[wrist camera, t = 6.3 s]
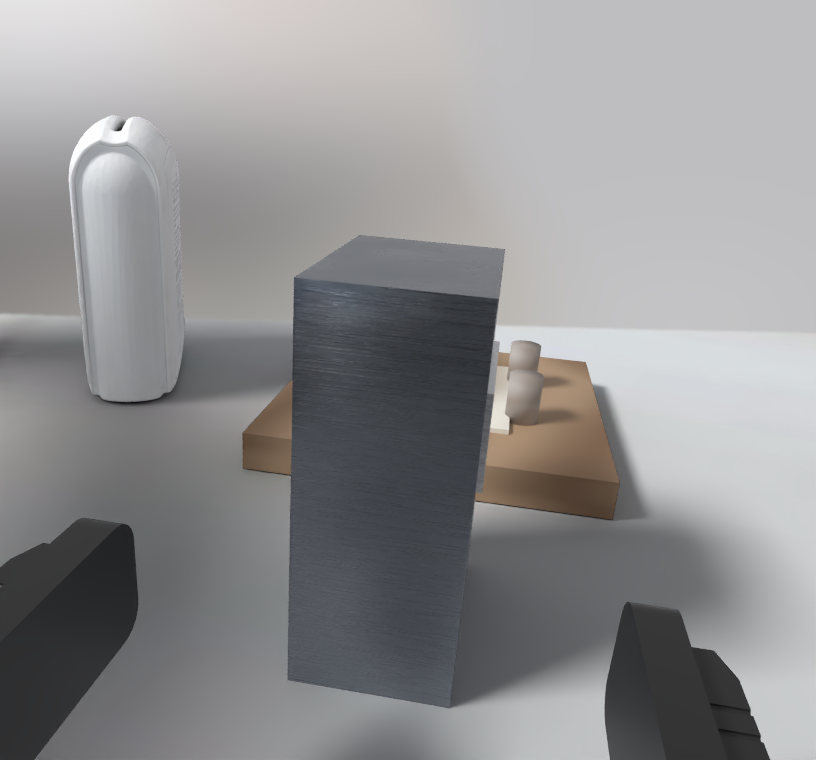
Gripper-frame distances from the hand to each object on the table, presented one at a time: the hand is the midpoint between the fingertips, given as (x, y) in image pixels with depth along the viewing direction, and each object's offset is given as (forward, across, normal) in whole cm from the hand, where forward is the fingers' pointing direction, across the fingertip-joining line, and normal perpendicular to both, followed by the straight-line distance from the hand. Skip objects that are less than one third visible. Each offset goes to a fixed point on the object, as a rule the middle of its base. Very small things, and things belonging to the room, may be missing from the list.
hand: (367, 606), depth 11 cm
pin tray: (+21, -1, -6) cm, 22 cm away
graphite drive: (+7, 0, -6) cm, 9 cm away
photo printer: (+23, -17, -6) cm, 29 cm away
